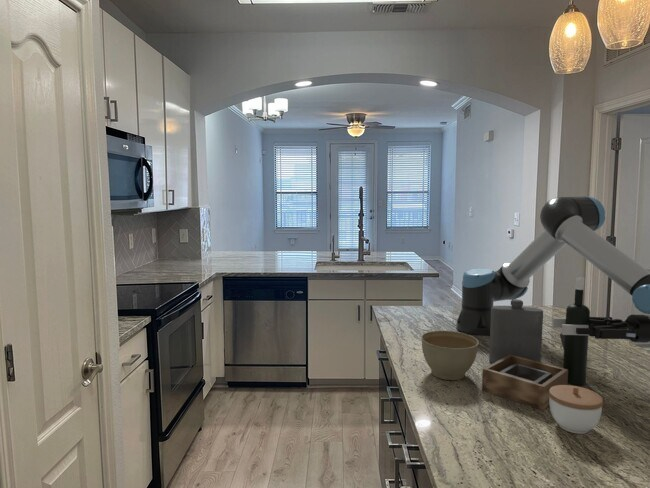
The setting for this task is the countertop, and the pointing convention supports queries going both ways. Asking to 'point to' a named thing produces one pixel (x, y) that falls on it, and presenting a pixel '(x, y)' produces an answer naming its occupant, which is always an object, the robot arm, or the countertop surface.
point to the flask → (515, 332)
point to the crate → (523, 380)
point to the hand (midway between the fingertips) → (557, 325)
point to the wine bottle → (576, 338)
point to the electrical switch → (562, 339)
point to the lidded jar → (575, 408)
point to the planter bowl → (449, 353)
